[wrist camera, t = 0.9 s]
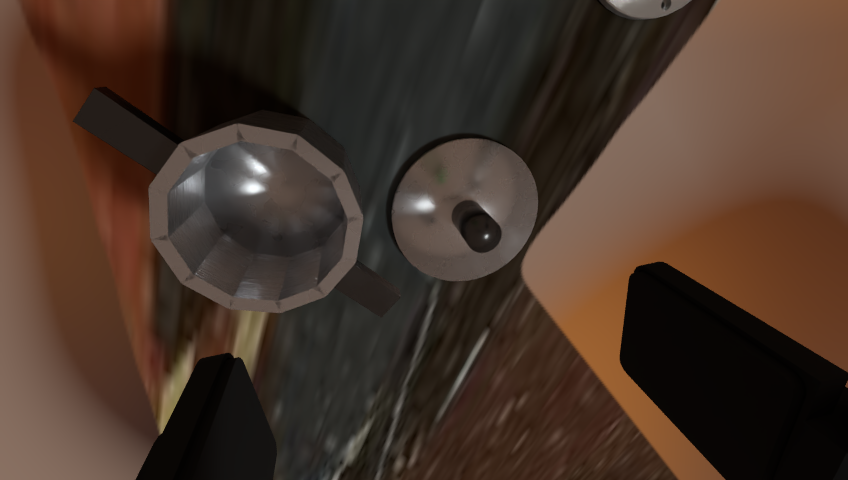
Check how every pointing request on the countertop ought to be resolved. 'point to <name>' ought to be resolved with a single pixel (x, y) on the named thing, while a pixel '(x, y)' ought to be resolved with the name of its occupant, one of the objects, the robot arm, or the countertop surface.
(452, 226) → the lid
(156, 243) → the pot
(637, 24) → the countertop surface
